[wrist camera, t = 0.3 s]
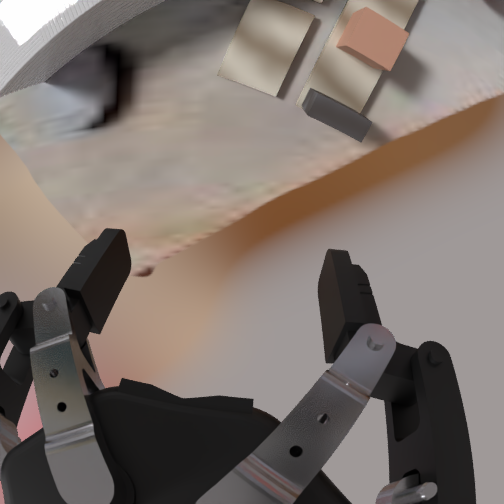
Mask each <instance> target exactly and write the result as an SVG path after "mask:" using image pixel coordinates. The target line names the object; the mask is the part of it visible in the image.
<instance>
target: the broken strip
mask: <svg viewBox="0 0 504 504" xmlns="http://www.w3.org/2000/svg"><path fill="white" fill-rule="evenodd" d="M313 1H316V2H318V3H320V4H321V3H322V1H323V0H313ZM314 17H315V16H314V15H312V14H310V13H308V12H305V11H303V10H301V9H298V8H296V7H293V6H291V5H288V4H285V3H283V2H280V1H277V0H250V2H249V4H248V6H247V8H246V11H245V13H244V15H243V17H242V19H241V21H240V23H239V25H238V28H237V30H236V32H235V34H234V37H233V39H232V41H231V43H230V46H229V48H228V50H227V53H226V55H225V57H224V60H223V62H222V65H221V67H220V69H219V72H218V74H217V75H218V76H221V77H224V78H227V79H230V80H232V81H235V82H238V83H241V84H244V85H246V86H249V87H252V88H254V89H257V90H260V91H262V92H265V93H267V94H270V95H272V96H275V97H276V95H277V93H278V91H279V89H280V86H281V84H282V82H283V80H284V78H285V76H286V74H287V72H288V69H289V67H290V65H291V63H292V61H293V59H294V57H295V55H296V53H297V51H298V49H299V47H300V45H301V43H302V41H303V39H304V37H305V35H306V33H307V31H308V29H309V27H310V25H311V23H312V21H313V19H314Z"/></svg>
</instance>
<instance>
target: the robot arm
mask: <svg viewBox="0 0 504 504" xmlns="http://www.w3.org/2000/svg"><path fill="white" fill-rule="evenodd" d="M130 270H131V257H130V253H129V248H128V243H127V238H126V234H125V231H124V230H122V229H110V228H106V229H105V230H104V231H103V232H102V233H101V235H100V236H99V237H98V239H97V240H96V239H94V240H93V241H92V242H90V243H89V244H87V245H86V246H85V247H84V248H83V250H82V251H81V253H80V254H79V257H77V258H76V259H75V261H74V264H72V265H71V267H70V268H69V269H68V271H67V272H66V273H65V275H64V276H63V278H62V279H61V281H60V282H59V284H58V285H57V287H52V288H48V289H45V290H43V291H42V292H40V293H39V294H38V295H37V297H36V298H35V300H34V301H24V302H20V300H19V299H18V297H17V295H16V294H15V293H14V292H5V293H3V294H1V295H0V358H1V355H2V353H3V351H4V349H5V347H6V345H7V343H8V341H9V340H10V341H11V342H12V344H13V345H14V346H13V348H12V350H11V353H10V355H9V357H8V359H7V361H6V363H5V366H4V368H3V369H2V368H1V366H0V481H1V484H2V489H3V494H4V500H5V504H352V503H351V502H350V501H349V500H348V499H347V498H346V497H345V496H344V495H343V494H342V492H340V490H339V489H338V488H337V487H336V486H335V485H334V483H333V482H332V481H331V480H330V479H329V478H328V477H327V476H326V474H325V473H324V472H323V471H322V470H321V468H322V467H323V466H324V464H325V463H326V462H327V460H328V459H329V458H330V457H331V455H332V454H333V453H334V451H335V450H336V449H337V447H338V446H339V445H340V443H341V442H342V440H343V439H344V437H345V436H346V435H347V433H348V432H349V430H350V429H351V427H352V426H353V425H354V423H355V422H356V420H357V418H358V417H359V415H360V414H361V412H362V411H363V409H364V408H365V406H366V405H367V403H368V401H369V399H370V397H373V398H377V399H380V400H384V402H385V413H386V424H387V436H388V453H389V480H390V484H388V485H386V486H385V487H384V488H383V489H382V490H381V491H380V492H379V494H378V496H377V499H376V504H476V494H475V479H474V469H473V460H472V452H471V445H470V439H469V433H468V427H467V422H466V417H465V413H464V407H463V403H462V398H461V394H460V390H459V386H458V382H457V378H456V374H455V370H454V367H453V364H452V360H451V357H450V354H449V352H448V351H447V349H446V348H445V347H444V346H442V345H441V344H439V343H437V342H434V341H427V342H424V343H423V344H421V346H420V347H419V348H418V349H416V348H413V347H410V346H406V345H403V344H400V343H398V342H396V341H395V338H394V336H393V334H392V333H391V332H390V331H389V330H388V329H387V328H385V327H383V326H382V324H381V320H380V317H379V313H378V310H377V306H376V303H375V299H374V296H373V295H372V289H371V287H370V283H369V280H368V277H367V274H366V273H365V272H364V271H363V269H362V268H361V267H360V266H359V265H353V264H352V263H351V259H350V256H349V253H348V251H344V250H335V249H328V250H327V253H326V256H325V260H324V264H323V267H322V270H321V274H320V278H319V282H318V299H319V306H320V315H321V323H322V332H323V341H324V351H325V361H326V363H334V364H333V365H332V366H331V368H330V369H329V370H326V371H325V372H324V373H323V375H322V376H321V377H320V378H319V379H318V381H317V382H316V383H315V384H314V386H313V387H312V388H311V389H310V391H309V392H308V393H307V394H306V395H305V396H304V397H303V399H302V400H301V401H300V402H299V403H298V404H297V406H296V407H295V408H294V409H293V410H292V411H291V412H290V414H289V415H288V416H287V417H286V418H285V419H284V420H283V421H282V422H280V421H279V420H278V419H276V418H275V417H273V416H272V415H270V414H268V413H267V412H264V411H262V410H260V409H257V408H254V407H253V399H247V398H237V397H228V396H209V397H198V398H180V397H178V396H175V395H173V394H171V393H169V392H166V391H164V390H162V389H160V388H158V387H156V386H153V385H151V384H146V383H142V382H137V381H133V380H128V379H124V378H122V379H121V382H120V385H119V386H116V387H109V388H105V387H104V385H103V383H102V381H101V379H100V376H99V373H98V370H97V367H96V364H95V361H94V358H93V354H92V351H91V347H90V344H89V341H88V339H87V337H88V334H89V332H92V333H96V334H100V333H101V331H102V329H103V326H104V324H105V322H106V320H107V318H108V316H109V314H110V312H111V310H112V307H113V305H114V303H115V301H116V299H117V297H118V295H119V293H120V291H121V289H122V287H123V285H124V283H125V281H126V280H127V278H128V276H129V274H130ZM33 380H34V386H35V391H36V397H37V402H38V407H39V412H40V416H41V420H42V425H43V428H42V429H40V430H39V431H37V432H36V433H34V434H33V435H31V436H30V437H28V438H27V439H25V440H24V441H23V442H21V439H20V438H19V437H18V432H17V424H18V421H19V418H20V415H21V412H22V409H23V406H24V403H25V400H26V397H27V395H28V392H29V389H30V386H31V384H32V381H33Z"/></svg>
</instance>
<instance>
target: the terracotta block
mask: <svg viewBox="0 0 504 504" xmlns="http://www.w3.org/2000/svg"><path fill="white" fill-rule="evenodd" d="M408 36H409V33H408V32H406V31H405V30H403V29H402V28H400V27H399V26H397V25H396V24H394V23H393V22H391V21H389V20H388V19H386V18H385V17H383V16H381V15H380V14H378V13H376V12H375V11H373V10H371V9H369V8H368V7H364V8H362V9H360V10H358V11H356V12H354V13H353V14H352V16H351V18H350V20H349V22H348V24H347V26H346V28H345V30H344V32H343V33H342V35H341V37H340V39H339V41H338V43H337V45H336V47H337V48H339V49H341V50H342V51H344V52H346V53H348V54H350V55H352V56H354V57H355V58H357V59H359V60H361V61H363V62H364V63H366V64H368V65H370V66H371V67H373V68H375V69H381V70H386V71H391V69H392V67H393V65H394V63H395V61H396V59H397V57H398V55H399V53H400V52H401V50H402V48H403V46H404V44H405V42H406V40H407V38H408Z"/></svg>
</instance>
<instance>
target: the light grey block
mask: <svg viewBox="0 0 504 504" xmlns="http://www.w3.org/2000/svg"><path fill="white" fill-rule="evenodd" d="M164 1H166V0H4V1H3V2H2V3H1V4H0V97H2V96H4V95H7V94H9V93H13V92H16V91H18V90H21V89H23V88H27V87H30V86H32V85H33V86H34V85H36V84H40V83H43V82H45V81H46V80H47V79H48V78H50V77H51V76H52V75H53V74H54V73H55V72H57V71H58V70H59V69H60V68H61V67H63V66H64V65H65V64H66V63H68V62H69V61H70V60H71V59H73V58H74V57H75V56H77V55H78V54H79V53H81V52H82V51H83V50H85V49H86V48H87V47H89V46H90V45H91V44H93V43H94V42H96V41H97V40H99V39H100V38H102V37H103V36H105V35H106V34H108V33H109V32H111V31H112V30H114V29H115V28H117V27H119V26H120V25H122V24H124V23H125V22H127V21H129V20H130V19H132V18H134V17H135V16H137V15H139V14H141V13H143V12H144V11H146V10H148V9H150V8H152V7H154V6H156V5H158V4H160V3H162V2H164Z"/></svg>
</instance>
